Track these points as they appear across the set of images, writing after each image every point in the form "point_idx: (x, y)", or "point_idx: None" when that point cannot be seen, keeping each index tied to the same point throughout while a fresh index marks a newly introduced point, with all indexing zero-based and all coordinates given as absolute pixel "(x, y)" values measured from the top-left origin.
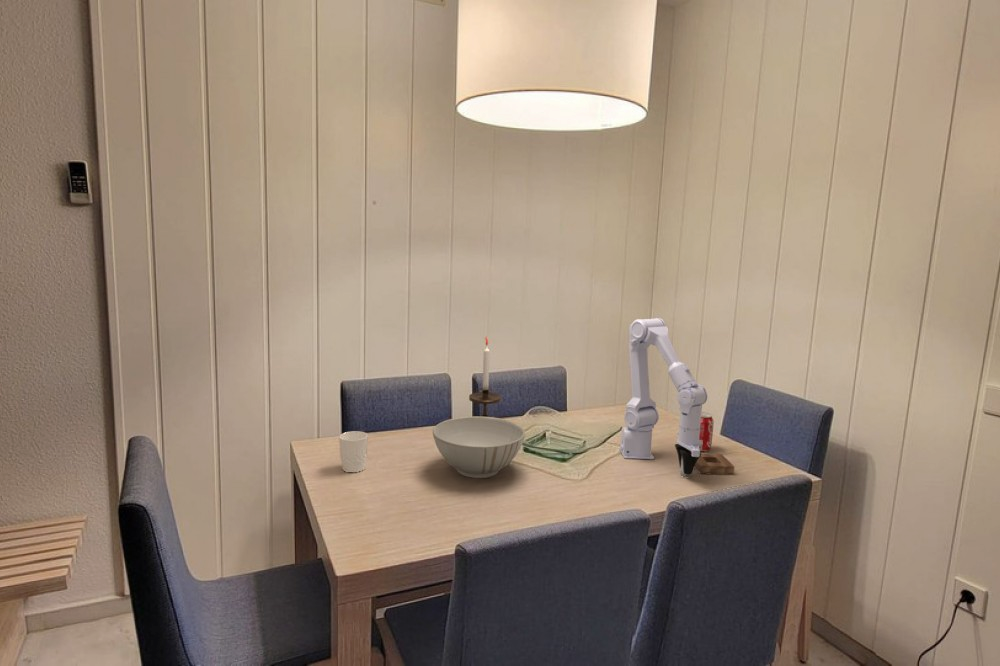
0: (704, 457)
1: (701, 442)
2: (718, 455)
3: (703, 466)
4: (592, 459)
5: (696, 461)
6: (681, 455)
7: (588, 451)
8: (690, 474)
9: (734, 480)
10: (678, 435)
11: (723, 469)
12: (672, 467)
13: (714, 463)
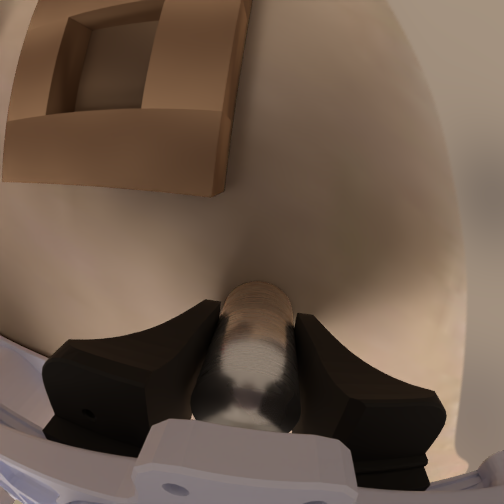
0: (51, 95)
1: (306, 501)
2: (51, 3)
3: (214, 170)
4: None
5: (371, 367)
6: (186, 416)
7: None
8: (285, 302)
9: (351, 15)
10: (20, 500)
11: (243, 16)
12: (127, 325)
13: (169, 51)
